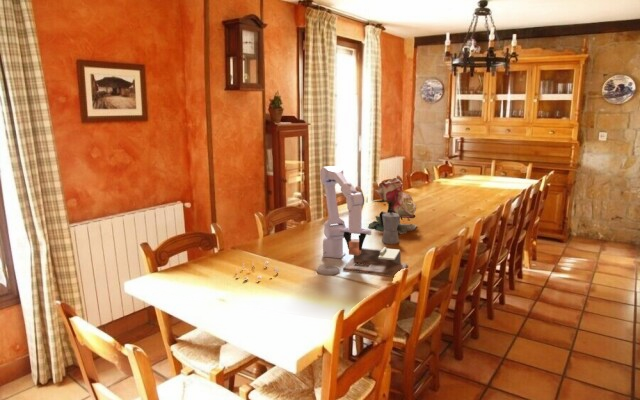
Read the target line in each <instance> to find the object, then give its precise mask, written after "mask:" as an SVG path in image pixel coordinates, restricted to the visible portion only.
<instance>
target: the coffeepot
mask: <svg viewBox="0 0 640 400" xmlns="http://www.w3.org/2000/svg"><path fill="white" fill-rule="evenodd" d="M379 216H380V220H381V224H382V226H383V227H384V231H382V232H383V233H382V236H381V242H382V243H383V244H385V245H396V244H399V242H400V239H399V233H398V231H397V227H398V223H399V219H400V220H401V217H400V215H399V214H397V213H392V209H390V213H387V212H386V211H380V213H379Z"/></svg>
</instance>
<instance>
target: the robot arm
mask: <svg viewBox="0 0 640 400" xmlns="http://www.w3.org/2000/svg"><path fill="white" fill-rule="evenodd" d="M319 176H320V182H321V185H323V186H324V192H325V199H326V209H327V215H328V219H327V220H326V221H325V222H324V224H323V226H324V229H323V233H324V236H325V237H323V241H322V257H324V258H332V259H333V258H334V259H342V258H343V257H344V255H346V252H343V251H344V246H343V245H344V242H343V241H344V240H345V242H346V244H347V249H348V250H349V241H350V240H351V239H352V234H353V235H354V234H356V235H357V234H358V239H359V250H361V249H362V248H363V244H364V242H365V238H366V237H367V235H368V236H371V235H372V229H368V228H363V227H362V217H363V216H362V214H363V213H362V206H363V205H364V203H365V197H364V194H363V192H362V191H361V192H360V191H357V189H356V188H355V187H354V185H353V184H352V183H351V182H348V181H347V179H346V178H345V176H344V169H343V167H342V166H341V165H335V166H334V165H332V166H322V167H321V169H320V172H319ZM337 184H338V185H339V186H340V192H341V193H342V194H343V196H344V197H345V198H346V199H345V202H346V206H347V210H348V227H347V226H346V224H345V221H344V220H343V219H341V218H340V216H339V207H338V201H337V194H336V188H335V187H336V185H337ZM343 239H344V240H343Z"/></svg>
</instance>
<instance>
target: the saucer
mask: <svg viewBox="0 0 640 400" xmlns="http://www.w3.org/2000/svg"><path fill="white" fill-rule="evenodd" d="M316 270H317V271H316V272H317V273H318V274H319V273H320V274H319V275H322V274H323V276H334V275H337V274H339V273H340V272H341V269H340V267H338V266H337V265H332V264H331V265H329V264H326V265H321V266H318V268H317V269H316Z"/></svg>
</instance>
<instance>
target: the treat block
mask: <svg viewBox="0 0 640 400" xmlns="http://www.w3.org/2000/svg"><path fill="white" fill-rule="evenodd" d="M360 253H361V250H359V238H358V239H356V238H355V239H354V238H351V240H350V241H349V249H348V255H351V256H354V255H359V254H360Z"/></svg>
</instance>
